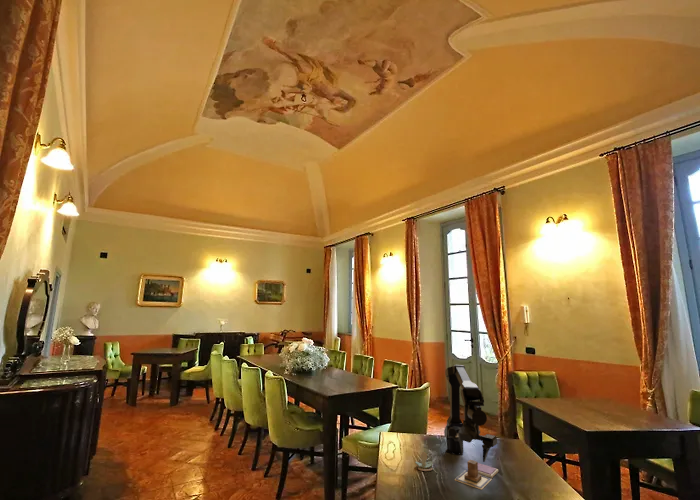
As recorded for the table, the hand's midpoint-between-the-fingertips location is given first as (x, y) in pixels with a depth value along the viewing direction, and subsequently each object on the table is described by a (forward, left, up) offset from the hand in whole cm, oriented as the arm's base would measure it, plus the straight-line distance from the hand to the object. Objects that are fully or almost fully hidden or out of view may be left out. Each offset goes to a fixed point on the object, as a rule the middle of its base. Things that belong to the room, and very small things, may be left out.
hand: (472, 458), depth 144 cm
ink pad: (0, +11, -8) cm, 14 cm away
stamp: (0, 0, -8) cm, 8 cm away
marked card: (0, 0, -8) cm, 8 cm away
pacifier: (-20, -4, -8) cm, 22 cm away
